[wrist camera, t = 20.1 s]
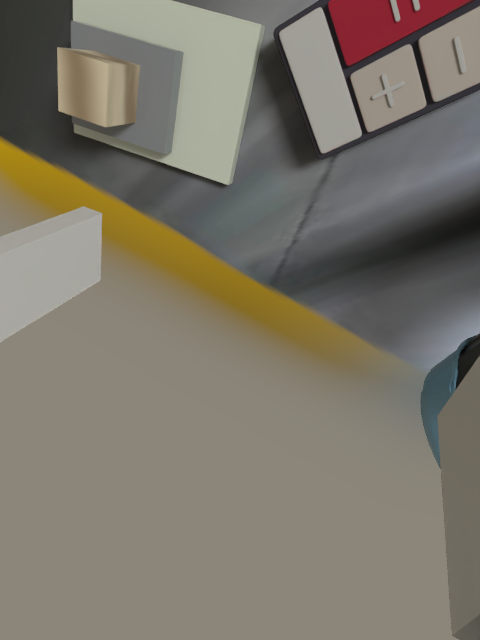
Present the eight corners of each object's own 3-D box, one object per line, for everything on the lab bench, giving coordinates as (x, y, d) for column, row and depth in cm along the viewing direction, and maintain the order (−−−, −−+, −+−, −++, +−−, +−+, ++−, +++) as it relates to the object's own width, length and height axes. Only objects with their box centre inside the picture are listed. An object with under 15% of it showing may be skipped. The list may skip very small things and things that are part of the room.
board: (265, 26, 36) (261, 24, 35) (232, 182, 44) (228, 185, 43) (80, -24, 39) (72, -27, 38) (80, 131, 47) (73, 132, 46)
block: (140, 65, 38) (108, 63, 34) (135, 122, 41) (105, 127, 37) (93, 50, 39) (57, 47, 35) (92, 107, 42) (58, 111, 38)
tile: (175, 50, 36) (70, 20, 38) (164, 154, 41) (72, 123, 43) (185, 52, 38) (84, 22, 40) (173, 151, 43) (84, 121, 45)
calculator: (513, 75, 30) (317, 163, 36) (498, 77, 33) (323, 156, 40) (479, -105, 26) (268, 28, 33) (467, -81, 30) (280, 35, 36)
